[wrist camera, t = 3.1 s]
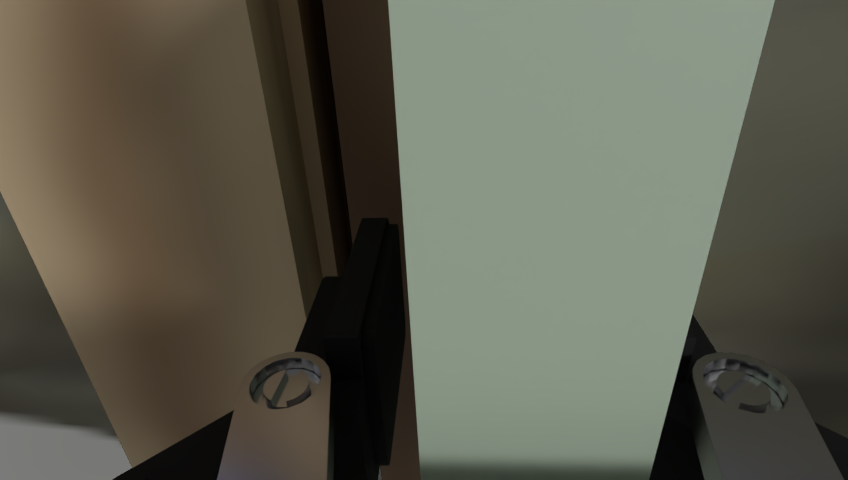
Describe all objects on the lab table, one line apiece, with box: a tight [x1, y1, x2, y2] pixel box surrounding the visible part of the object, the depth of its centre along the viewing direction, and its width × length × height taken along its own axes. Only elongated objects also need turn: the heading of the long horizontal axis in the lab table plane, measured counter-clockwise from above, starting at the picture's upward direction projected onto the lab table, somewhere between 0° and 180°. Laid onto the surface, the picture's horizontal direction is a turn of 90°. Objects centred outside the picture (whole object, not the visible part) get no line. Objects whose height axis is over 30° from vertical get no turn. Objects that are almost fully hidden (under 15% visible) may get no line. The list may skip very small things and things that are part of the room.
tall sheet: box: [388, 0, 775, 480], centre depth 11 cm, size 2×16×12 cm, turn 3°
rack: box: [0, 0, 421, 480], centre depth 15 cm, size 14×20×7 cm
